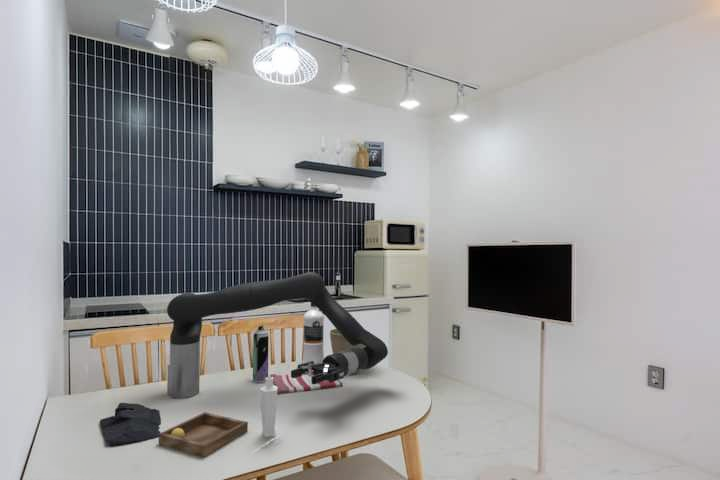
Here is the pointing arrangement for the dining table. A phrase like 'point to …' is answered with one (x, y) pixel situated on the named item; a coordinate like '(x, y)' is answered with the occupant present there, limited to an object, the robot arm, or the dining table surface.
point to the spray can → (260, 355)
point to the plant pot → (341, 343)
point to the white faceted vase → (268, 407)
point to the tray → (204, 434)
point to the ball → (178, 432)
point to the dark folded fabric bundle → (131, 424)
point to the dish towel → (300, 383)
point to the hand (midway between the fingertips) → (301, 377)
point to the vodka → (313, 336)
